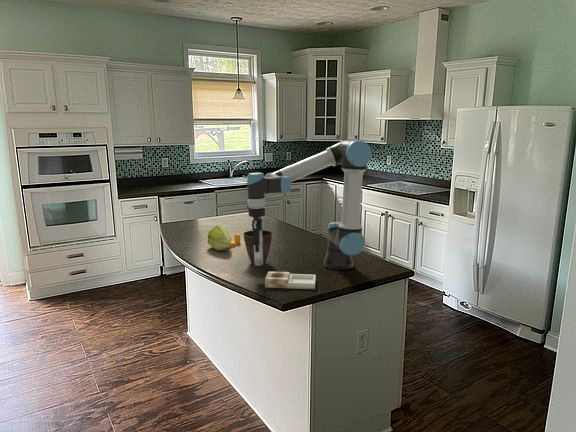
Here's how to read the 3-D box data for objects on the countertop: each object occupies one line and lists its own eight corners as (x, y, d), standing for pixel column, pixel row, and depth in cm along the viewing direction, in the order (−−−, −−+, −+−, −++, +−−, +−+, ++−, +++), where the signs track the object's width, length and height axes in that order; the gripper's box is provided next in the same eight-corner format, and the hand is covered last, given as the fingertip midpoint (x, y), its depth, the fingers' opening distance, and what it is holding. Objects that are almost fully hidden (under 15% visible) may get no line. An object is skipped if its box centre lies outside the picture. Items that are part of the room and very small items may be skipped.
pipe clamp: (228, 249, 250) (227, 238, 249) (222, 248, 253) (222, 237, 251) (242, 245, 259) (242, 234, 258) (237, 243, 262) (237, 233, 260)
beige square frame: (289, 280, 198) (289, 272, 197) (287, 288, 188) (287, 279, 187) (268, 279, 199) (268, 271, 198) (265, 287, 189) (264, 278, 188)
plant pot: (238, 264, 222) (237, 234, 218) (255, 256, 234) (254, 228, 231) (261, 268, 214) (261, 238, 211) (277, 261, 226) (277, 232, 223)
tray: (315, 279, 199) (315, 274, 198) (314, 289, 187) (314, 283, 186) (290, 278, 200) (290, 273, 199) (287, 288, 188) (287, 282, 188)
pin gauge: (263, 263, 200) (262, 229, 196) (262, 265, 196) (261, 232, 193) (255, 263, 200) (254, 229, 197) (253, 265, 196) (252, 232, 193)
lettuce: (217, 257, 233) (215, 233, 230) (205, 248, 252) (203, 225, 249) (239, 253, 239) (237, 229, 236) (226, 244, 258) (224, 222, 255)
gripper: (251, 203, 201) (253, 251, 206) (244, 210, 185) (247, 262, 189) (267, 203, 200) (269, 251, 205) (261, 210, 184) (263, 262, 189)
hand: (258, 256), depth 197 cm, fingers closed on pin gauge, 4 cm apart
